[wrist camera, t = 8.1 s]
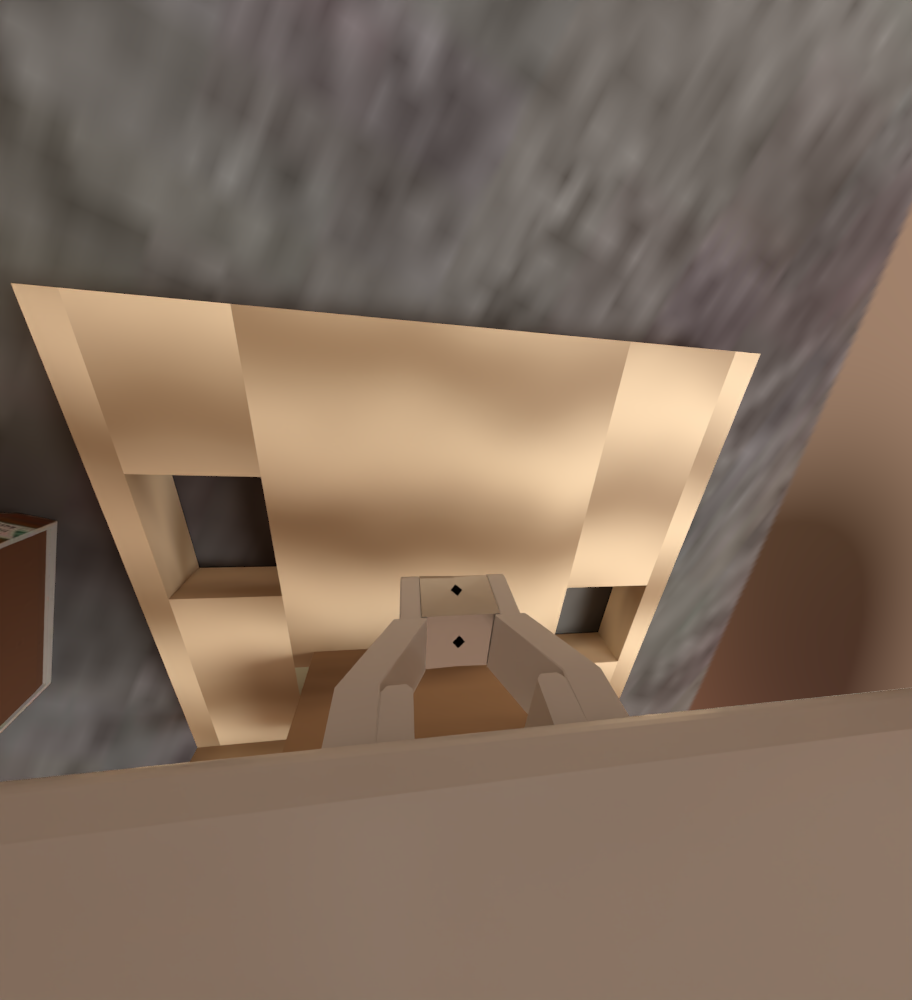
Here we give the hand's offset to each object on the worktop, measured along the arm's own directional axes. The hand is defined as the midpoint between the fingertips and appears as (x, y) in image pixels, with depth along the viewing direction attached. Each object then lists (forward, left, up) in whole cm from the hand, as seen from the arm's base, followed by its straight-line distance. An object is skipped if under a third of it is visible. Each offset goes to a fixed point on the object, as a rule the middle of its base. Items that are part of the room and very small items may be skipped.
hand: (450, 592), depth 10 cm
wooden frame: (+3, 0, -5) cm, 6 cm away
